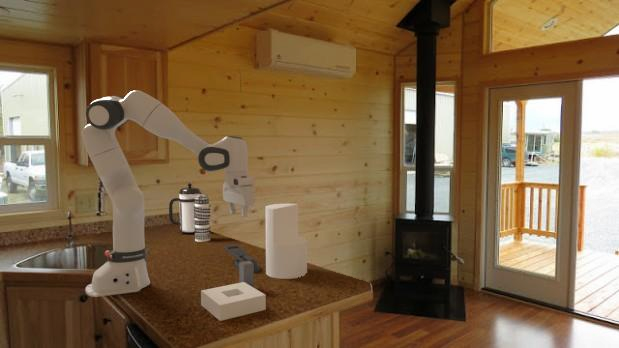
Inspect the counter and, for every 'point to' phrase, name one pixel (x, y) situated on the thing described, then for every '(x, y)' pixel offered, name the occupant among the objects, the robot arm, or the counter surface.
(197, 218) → the decorative candle
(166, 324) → the counter surface
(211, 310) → the well block
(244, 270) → the metal bar
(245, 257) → the zipper pull
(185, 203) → the coffee press
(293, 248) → the cylinder
